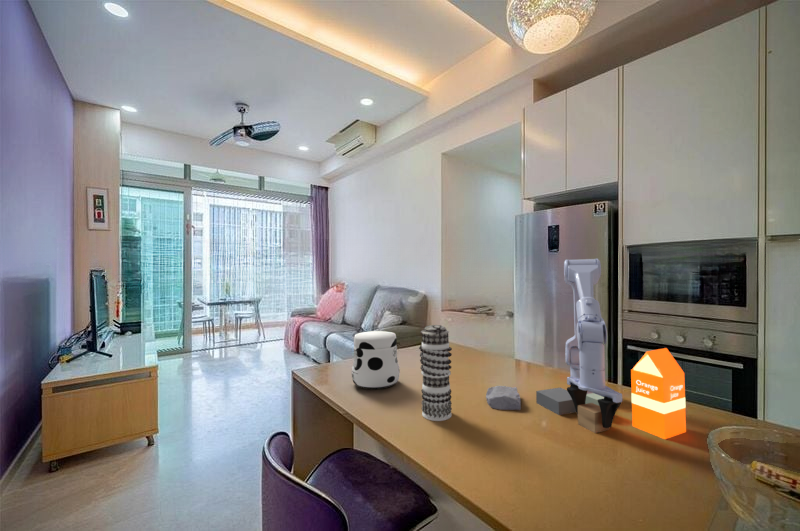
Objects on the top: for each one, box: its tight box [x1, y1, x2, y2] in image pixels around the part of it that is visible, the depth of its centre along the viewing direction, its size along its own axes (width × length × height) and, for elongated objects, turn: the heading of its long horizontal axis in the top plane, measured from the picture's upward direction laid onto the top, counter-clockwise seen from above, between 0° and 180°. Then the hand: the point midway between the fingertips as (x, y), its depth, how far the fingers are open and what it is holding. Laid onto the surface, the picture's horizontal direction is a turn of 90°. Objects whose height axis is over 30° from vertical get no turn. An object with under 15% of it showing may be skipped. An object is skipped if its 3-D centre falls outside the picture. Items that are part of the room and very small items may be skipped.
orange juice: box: [630, 347, 687, 440], centre depth 85 cm, size 8×9×20 cm
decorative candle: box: [418, 324, 453, 422], centre depth 96 cm, size 9×9×25 cm
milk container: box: [351, 330, 401, 390], centre depth 122 cm, size 17×17×18 cm
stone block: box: [485, 385, 522, 411], centre depth 104 cm, size 12×5×10 cm
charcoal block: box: [535, 387, 576, 416], centre depth 100 cm, size 9×9×4 cm
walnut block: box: [577, 403, 611, 434], centre depth 87 cm, size 5×5×5 cm
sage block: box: [585, 393, 604, 406], centre depth 94 cm, size 5×5×5 cm
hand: (593, 420), depth 87 cm, fingers open, 7 cm apart
